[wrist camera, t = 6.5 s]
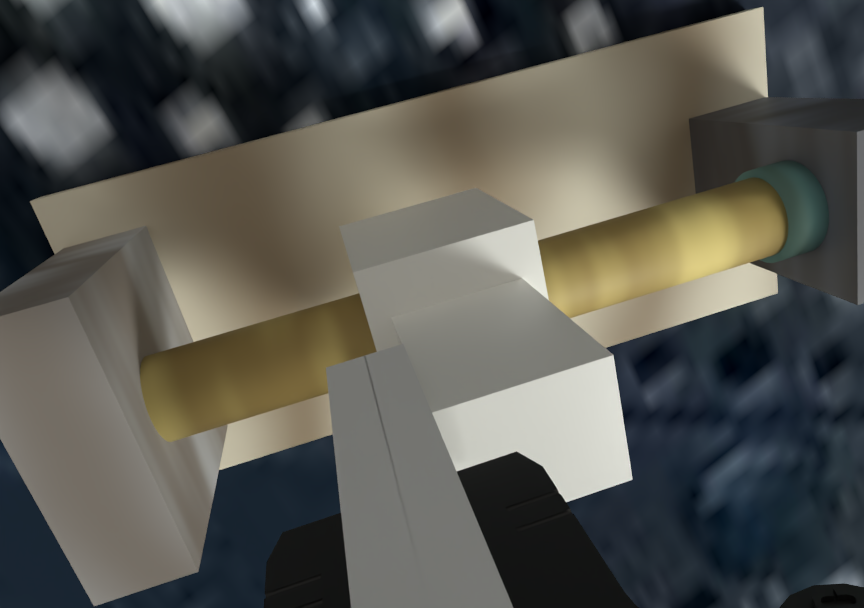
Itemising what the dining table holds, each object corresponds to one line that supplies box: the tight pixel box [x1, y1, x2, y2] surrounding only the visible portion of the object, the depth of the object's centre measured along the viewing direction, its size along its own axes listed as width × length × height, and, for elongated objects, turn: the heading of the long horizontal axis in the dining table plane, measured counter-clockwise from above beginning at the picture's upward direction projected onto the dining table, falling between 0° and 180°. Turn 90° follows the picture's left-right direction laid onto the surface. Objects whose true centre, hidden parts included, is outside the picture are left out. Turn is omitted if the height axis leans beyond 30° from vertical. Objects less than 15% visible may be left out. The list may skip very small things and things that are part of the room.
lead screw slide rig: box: [0, 7, 864, 606], centre depth 18 cm, size 23×10×8 cm, turn 104°
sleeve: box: [339, 188, 633, 502], centre depth 15 cm, size 4×5×9 cm
